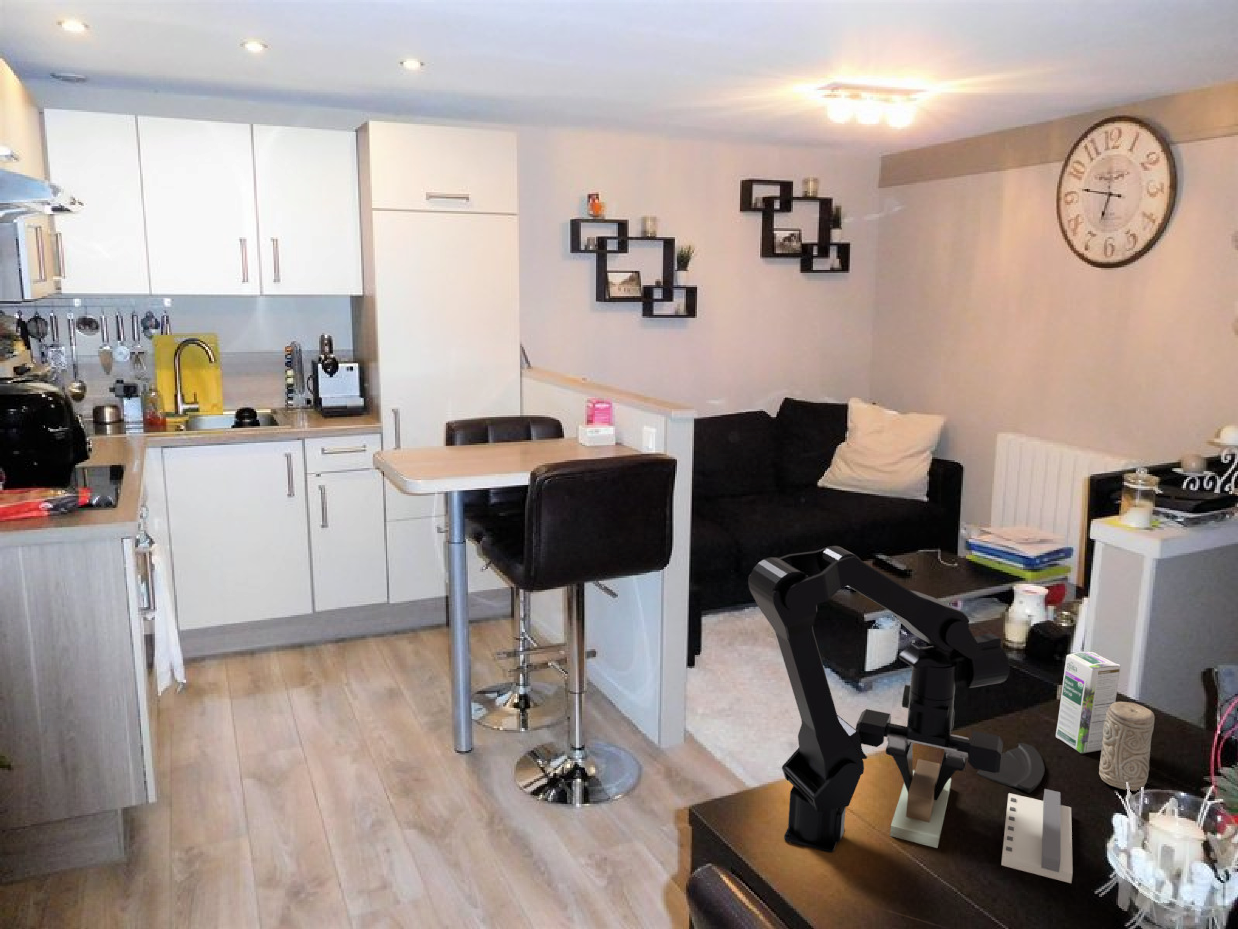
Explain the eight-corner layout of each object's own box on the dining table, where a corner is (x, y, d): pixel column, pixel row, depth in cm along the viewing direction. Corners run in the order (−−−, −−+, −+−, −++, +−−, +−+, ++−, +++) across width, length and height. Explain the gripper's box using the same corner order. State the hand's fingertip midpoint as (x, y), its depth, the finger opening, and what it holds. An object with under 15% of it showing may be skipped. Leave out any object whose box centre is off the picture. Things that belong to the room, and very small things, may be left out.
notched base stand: (1000, 868, 116) (1003, 846, 115) (1007, 801, 131) (1009, 781, 131) (1071, 886, 113) (1074, 864, 112) (1069, 815, 128) (1072, 795, 127)
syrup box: (1054, 737, 150) (1064, 653, 147) (1083, 732, 151) (1093, 649, 148) (1080, 754, 144) (1092, 668, 141) (1110, 749, 146) (1122, 664, 143)
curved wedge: (1062, 764, 142) (1063, 755, 142) (1030, 800, 132) (1031, 789, 132) (1007, 745, 148) (1008, 736, 147) (973, 778, 138) (974, 768, 138)
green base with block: (890, 836, 122) (892, 801, 121) (907, 778, 136) (910, 747, 135) (937, 848, 120) (940, 813, 119) (950, 788, 134) (953, 756, 133)
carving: (1150, 781, 137) (1161, 706, 135) (1140, 803, 131) (1151, 725, 129) (1103, 766, 141) (1113, 693, 138) (1091, 787, 135) (1101, 711, 133)
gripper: (1009, 681, 128) (998, 784, 131) (872, 657, 135) (865, 754, 139) (1005, 715, 118) (993, 825, 121) (857, 686, 126) (850, 790, 129)
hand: (922, 796), depth 128 cm, fingers closed on green base with block, 3 cm apart
